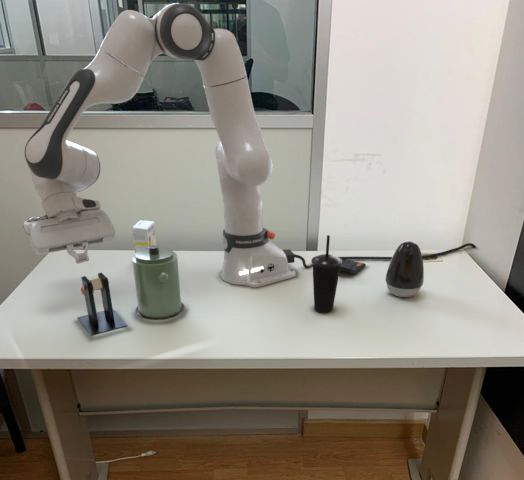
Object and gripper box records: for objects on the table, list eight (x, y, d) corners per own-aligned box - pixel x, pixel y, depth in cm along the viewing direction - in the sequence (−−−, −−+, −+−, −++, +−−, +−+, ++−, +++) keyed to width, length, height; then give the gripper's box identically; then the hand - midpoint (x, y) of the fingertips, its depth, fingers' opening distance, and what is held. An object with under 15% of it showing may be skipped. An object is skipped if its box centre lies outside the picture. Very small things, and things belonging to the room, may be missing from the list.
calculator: (365, 266, 165) (366, 257, 164) (349, 278, 157) (350, 269, 155) (338, 260, 169) (338, 251, 168) (321, 272, 161) (322, 262, 159)
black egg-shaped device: (379, 297, 146) (386, 244, 138) (388, 283, 154) (395, 232, 146) (416, 304, 142) (425, 250, 134) (424, 289, 150) (433, 238, 143)
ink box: (151, 265, 166) (146, 228, 160) (135, 265, 166) (131, 228, 160) (158, 255, 173) (154, 220, 167) (143, 255, 174) (139, 219, 168)
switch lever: (82, 298, 136) (78, 286, 135) (94, 295, 137) (90, 283, 137) (92, 292, 124) (88, 278, 124) (105, 288, 126) (101, 275, 126)
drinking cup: (340, 305, 142) (346, 232, 132) (334, 317, 136) (340, 242, 125) (313, 301, 144) (316, 229, 134) (305, 313, 138) (309, 238, 127)
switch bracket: (78, 321, 134) (68, 274, 127) (112, 312, 138) (105, 266, 131) (91, 339, 126) (82, 290, 119) (128, 329, 130) (121, 281, 123)
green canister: (130, 303, 142) (121, 239, 133) (175, 296, 147) (169, 233, 137) (144, 332, 129) (135, 263, 119) (193, 323, 133) (189, 256, 124)
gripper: (20, 212, 125) (39, 264, 123) (105, 199, 135) (124, 247, 133) (20, 226, 131) (39, 276, 129) (102, 212, 140) (120, 258, 138)
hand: (83, 261), depth 131 cm, fingers closed
